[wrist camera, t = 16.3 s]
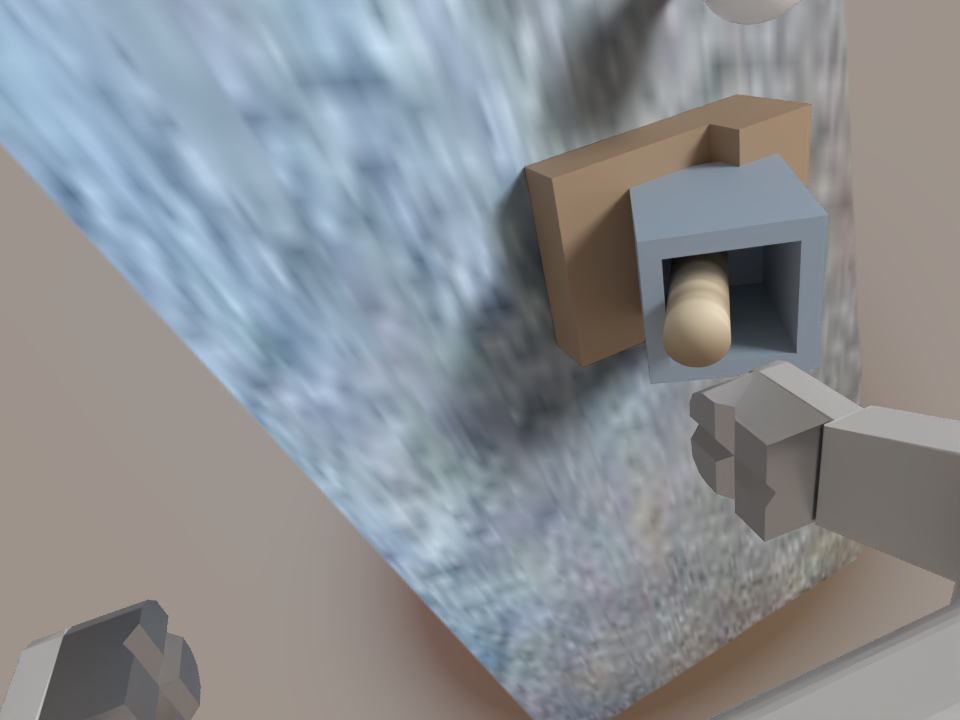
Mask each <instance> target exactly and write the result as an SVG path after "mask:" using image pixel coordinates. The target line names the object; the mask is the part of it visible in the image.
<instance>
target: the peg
mask: <svg viewBox="0 0 960 720" xmlns="http://www.w3.org/2000/svg"><path fill="white" fill-rule="evenodd" d="M730 345H731V327H730V302H729V278H728V253H727V251H720V252H713V253H705V254H698V255H691V256H683V257H676V258H672V262H671V271H670V279H669V288H668V297H667V306H666V314H665V323H664V332H663V346H664V349H665V351H666V353H667V354H668V355H669V356H670V358H672V359H673V360H674V361H676V362H677V363H679V364H681V365H684V366H688V367H695V368H699V367H706V366H710V365H712V364H715V363H717V362H718V361H720V360H721V359H722V358H723V357H724V356H725V355H726V354H727V352H728V350H729V348H730Z"/></svg>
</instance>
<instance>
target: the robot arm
mask: <svg viewBox="0 0 960 720" xmlns="http://www.w3.org/2000/svg"><path fill="white" fill-rule="evenodd" d="M690 416H691V417H692V418H693V419H694V420H695V421H696V422H697V423H698V424H699V425H698V427H697V429H696V431H695V432H694V434H693V436H692V438H691V444H692V455H693V458H694V461H695V463H696V466H697V468H698V471H699V473H700V474H701V476H702V477H703V479H704V480H705V482H706V483H707V484H708V485H709V486H710V487H711V488H712V490H713V491H714V492H715V493H716V494H719V495H722V496H725V497H729V498H732V499H735V513H736V514H737V515H738V516H739V517H740V518H741V519H742V520H743V521H744V522H745V523H746V524H747V525H748V526H749V527H750V528H751V529H752V530H753V531H754V532H755V533H756V534H757V535H758V536H759V537H760V538H761V539H762V540H763V541H764V542H765V541H768V540H770V539H773V538H775V537H778V536H780V535H783V534H785V533H788V532H790V531H793V530H795V529H798V528H800V527H803V526H805V525H808V524H810V523H813V522H816V523H815V525H818V526H820V527H823V528H825V529H828V530H830V531H832V532H835V533H837V534H840V535H842V536H845V537H847V538H850V539H852V540H854V541H857V542H859V543H862V544H864V545H867V546H869V547H872V548H874V549H876V550H879V551H882V552H884V553H886V554H889V555H891V556H894V557H896V558H898V559H901V560H903V561H906V562H908V563H911V564H913V565H915V566H918V567H921V568H923V569H926V570H928V571H930V572H933V573H935V574H937V575H940V576H942V577H945V578H947V579H950V580H952V581H955V586H954V590H953V594H952V598H951V602H950V605H948V606H945V607H943V608H941V609H939V610H937V611H935V612H933V613H931V614H929V615H926V616H924V617H922V618H920V619H918V620H916V621H914V622H912V623H910V624H907V625H905V626H903V627H901V628H899V629H897V630H895V631H893V632H891V633H889V634H886V635H884V636H882V637H880V638H878V639H876V640H874V641H872V642H869V643H868V644H865V645H863V646H861V647H859V648H857V649H855V650H853V651H851V652H849V653H847V654H844V655H842V656H840V657H838V658H836V659H834V660H832V661H830V662H828V663H825V664H823V665H821V666H819V667H817V668H815V669H813V670H811V671H809V672H806V673H804V674H802V675H800V676H798V677H796V678H794V679H792V680H790V681H787V682H785V683H783V684H781V685H779V686H777V687H775V688H773V689H771V690H768V691H766V692H764V693H762V694H760V695H758V696H756V697H754V698H752V699H749V700H747V701H745V702H743V703H741V704H739V705H737V706H735V707H733V708H730V709H729V710H726V711H724V712H722V713H720V714H718V715H716V716H714V717H711V718H709V719H707V720H960V421H955V420H950V419H944V418H938V417H933V416H928V415H922V414H916V413H911V412H906V411H900V410H895V409H889V408H884V407H878V406H873V405H872V406H869V407H867V408H864V409H863V408H861V407H860V406H858V405H857V404H855V403H853V402H852V401H850V400H849V399H847V398H845V397H844V396H842V395H841V394H839V393H837V392H836V391H834V390H832V389H831V388H829V387H828V386H826V385H824V384H823V383H821V382H820V381H818V380H816V379H815V378H813V377H812V376H810V375H808V374H807V373H805V372H804V371H802V370H800V369H799V368H797V367H796V366H794V365H792V364H791V363H789V362H787V361H782V360H776V361H773V362H771V363H768V364H766V365H763V366H761V367H758V368H756V369H754V370H751V371H749V373H745V374H743V375H740V376H737V377H735V378H732V379H730V380H727V381H724V382H722V383H719V384H717V385H714V386H712V387H709V388H706V389H704V390H701V391H699V392H696V393H693V394H692V397H691V400H690ZM167 623H168V615H167V614H166V613H165V611H164V610H163V609H162V608H161V606H160V605H159V604H158V602H157V601H154V600H146V601H143V602H140V603H137V604H134V605H131V606H129V607H126V608H123V609H120V610H117V611H115V612H112V613H109V614H106V615H103V616H100V617H98V618H95V619H92V620H89V621H86V622H84V623H81V624H78V625H75V626H72V627H71V628H70V629H66V630H63V631H60V632H58V633H55V634H52V635H49V636H46V637H43V638H41V639H38V640H35V641H32V642H31V643H30V644H29V645H28V646H27V647H26V648H25V649H24V650H23V651H22V653H21V655H20V658H19V661H18V663H17V666H16V669H15V672H14V675H13V677H12V680H11V683H10V686H9V689H8V691H7V694H6V697H5V699H4V703H3V706H2V708H1V710H0V720H191V719H192V717H193V715H194V714H195V712H196V711H197V709H198V707H199V706H200V689H201V685H200V679H199V673H198V667H197V663H196V661H195V658H194V656H193V653H192V651H191V649H190V647H189V646H188V644H187V643H186V641H185V640H184V638H183V637H180V636H177V635H174V634H171V633H168V632H167Z"/></svg>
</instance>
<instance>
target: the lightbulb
mask: <svg viewBox="0 0 960 720" xmlns="http://www.w3.org/2000/svg"><path fill="white" fill-rule="evenodd" d="M800 1H801V0H704V2H705V3H706V4H707V6H708V7H709V8H710V9H711V10H712V11H713V12H714V13H715V14H717V15H718V16H719V17H721V18H723V19H725V20H727V21H729V22H733V23H737V24H744V25H751V24H759V23H764V22H767V21H770V20H773V19H775V18H777V17H779V16H781V15H783V14H784V13H786V12H788V11H789V10H790V9H792V8H793V7H794V6H795V5H797V4H798V3H799V2H800Z"/></svg>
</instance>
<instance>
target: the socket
mask: <svg viewBox="0 0 960 720" xmlns="http://www.w3.org/2000/svg"><path fill="white" fill-rule="evenodd" d="M811 109H812V104H808V103H800V102H792V101H784V100H777V99H769V98H761V97H753V96H745V95H738V94H737V95H734V96H731V97H728V98H725V99H722V100H719V101H717V102H714V103H711V104H708V105H705V106H702V107H699V108H696V109H693V110H690V111H687V112H684V113H681V114H678V115H675V116H672V117H670V118H667V119H664V120H661V121H658V122H655V123H652V124H649V125H646V126H643V127H640V128H637V129H634V130H631V131H628V132H625V133H623V134H620V135H617V136H614V137H611V138H608V139H605V140H602V141H599V142H596V143H593V144H590V145H587V146H584V147H581V148H578V149H576V150H573V151H570V152H567V153H564V154H561V155H558V156H555V157H552V158H549V159H546V160H543V161H540V162H537V163H534V164H531V165H529V166H526V167H525V172H526V178H527V183H528V189H529V194H530V200H531V205H532V211H533V216H534V222H535V227H536V232H537V238H538V243H539V249H540V254H541V260H542V265H543V271H544V276H545V282H546V287H547V292H548V298H549V303H550V309H551V314H552V320H553V325H554V331H555V336H556V342H557V345H558V346H559V347H560V348H561V349H562V350H563V351H564V352H566V353H567V354H568V355H569V356H570V357H571V358H572V359H574V360H575V361H576V362H577V363H578V364H579V365H580V366H581V367H585V366H587V365H590V364H592V363H595V362H597V361H599V360H602V359H604V358H606V357H609V356H611V355H614V354H616V353H618V352H621V351H623V350H625V349H628V348H630V347H633V346H635V345H637V344H640V343H642V342H645V343H646V350H647V358H648V366H649V374H650V382H651V384H657V383H668V382H679V381H690V380H701V379H711V378H722V377H733V376H740V375H743V374H745V373H749V371H751V370H754V369H756V368H758V367H761V366H763V365H766V364H768V363H771V362H773V361H776V360H782V361H787V362H789V363H791V364H792V365H794V366H796V367H797V368H799V369H800V370H809V369H818V367H819V351H820V336H821V321H822V305H823V290H824V275H825V260H826V245H827V229H828V214H827V212H826V211H825V210H824V209H823V208H822V206H821V205H820V204H819V203H818V201H817V200H816V199H815V198H814V196H813V195H812V194H811V193H810V191H809V190H808V173H809V152H810V131H811ZM720 251H727V253H728V278H729V302H730V327H731V345H730V348H729V350H728V352H727V354H726V355H725V356H724V357H723V358H722V359H721V360H720V361H718V362H717V363H715V364H712V365H710V366H706V367H699V368H695V367H688V366H684V365H681V364H679V363H677V362H676V361H674V360H673V359H672V358H670V356H669V355H668V354H667V353H666V351H665V349H664V346H663V332H664V323H665V314H666V306H667V297H668V288H669V279H670V271H671V262H672V258H676V257H683V256H691V255H698V254H705V253H713V252H720Z"/></svg>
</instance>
